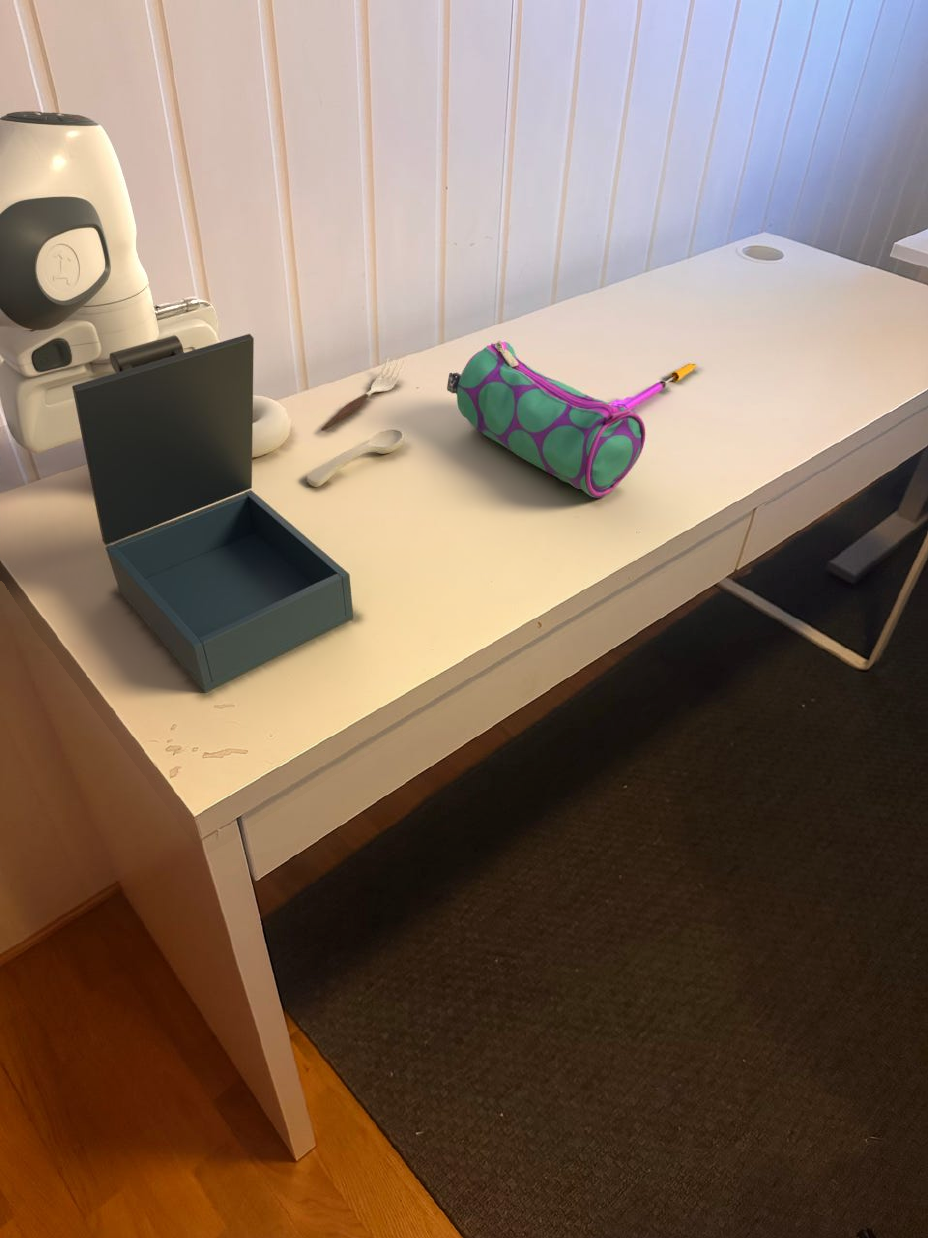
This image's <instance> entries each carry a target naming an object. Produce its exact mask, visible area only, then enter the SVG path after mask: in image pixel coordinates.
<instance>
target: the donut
mask: <svg viewBox="0 0 928 1238" xmlns="http://www.w3.org/2000/svg"><path fill="white" fill-rule="evenodd" d="M291 428H292V420H291V417H290V415H289V413H288V411H287V409H286V408H285V407H284V406H283V405H282V404H281V403H279V402H278V401H276V400H274V399H272V398H269V397H267V396H263V395H256V394H253V434H252V459H254V458H259V457H262V456H265V455H267V454H269V453H272V452H273V451H276V449H278V448H280V447H281V446H282V445H284V443H285V441H286V440H287V439H288V438H289V436H290V433H291Z"/></svg>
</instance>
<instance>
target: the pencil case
mask: <svg viewBox="0 0 928 1238" xmlns="http://www.w3.org/2000/svg"><path fill="white" fill-rule="evenodd" d="M446 390H447V392H449V393H450V394H455V395H456V402H457V407H458V410H459V412H460V414H461V415H462V416H463V417H464V418H465V419H466V420H467V422H468V423H470V424H471V425H472V426H473V427H474V428H475V429H476V430H478V431H479V432H481V433H482V435H484V436H486V437H488V438H489V439H490V440H492V441H494V442H496V443H497V444H500V445H501V446H503V447H504V448H506V449H507V450H508V451H510V452H512V453H514V454H515V455H516V456H518V457H519V458H521V459H522V460H524V461H526V462H528V463H530V464H531V465H533V466H535V467H536V468H539V469H540V470H541V471H543V472H546V473H547V474H549V475H552V476H553V477H555V478H558V480H560V481H561V482H564V483H567V484H569V485H571V486H572V487H574V488H575V489H577V490H581V491H583V492H584V493H585V494H586V495H588V496H590V497H591V498H594V499H595V498H597V499H599V498H604V497H607V496H608V495H609V494H611V493H612V492H613V491H614V490H615V489H616V488H617V486H619V484H620V483H621V482H622V481H623V479H625V477H627V475H628V474H629V473H630V471H631V470H632V469H633V467H634V466H635V465H636V463H637V462H638V460H639V458H640V456H641V455H642V452H643V449H644V447H645V442H646V426H645V423H644V421H643V419H642V418H641V417H640V416H639V414H637V413H636V412H635V411H633V410H628V409H625V408H622V407H618V406H613V405H610V403H608V402H607V401H605V400H602V399H598V398H595V397H592V396H590V395H587V394H585V393H583V392H581V391H579V390H578V389H576V388H574V387H572V386H570V385H568V384H566V383H563V382H561V381H559V380H556V379H553V378H551V377H548V376H546V375H544V374H543V373H541V372H539V371H537V370H534V369H533V368H532V367H530V366H528V365H527V364H526V363H524V362H523V361H521V360H520V359H519V357H518V356H517V354H516V352H515V349H514V348H513V346H512V345H511V344H510V343H509V342H507V341H501V340H498V341H496V342H495V343H493V342H492V343H490V344H489V345H487V346H485V347H484V348H482V349H481V350H479V351H477V352H476V353H475V354H473V355H472V356H471V357H470V358H469V360H468V361H467V363H466V364H465V366H464V368H463V370H462V372H461V374H460V373H459V372H449V374H448V379H447V383H446Z"/></svg>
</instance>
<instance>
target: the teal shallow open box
mask: <svg viewBox="0 0 928 1238" xmlns="http://www.w3.org/2000/svg"><path fill="white" fill-rule="evenodd" d="M105 551H106V553H107V557H108V560H109V563H110V567H111V569H112V572H113V576H114V580H115V582H116V585H117V589H118V591H119V593H120V594H121V595H122V596H123V598H124V599H125V600H126V601H127V602H128V604H129V605H130V606H131V608H133V609H134V611H135V612H136V613H137V614H138V615H139V616H140V618H141V619H142V620H143V621H144V622H145V624H147V626H148V627H149V628H150V629H151V631H152V632H153V633H154V634H155V636H157V638H158V639H159V640H160V642H162V643H163V645H164V646H165V647H166V648H167V649H168V651H169V652H170V653H171V654H172V655H173V656H174V658H175V659H176V660H177V662H178V663H180V665H182V668H183V669H185V671H186V672H187V673H188V675H190V677H191V678H192V679H193V680H194V681H195V682H196V684H197V685H198V686H199V687H200V689H201V690H202V691H203V692H204V693H208V692H210V691H212V690H214V689H217V688H218V687H221V686H222V685H224V684H226V683H228V682H230V681H232V680H234V679H236V678H238V677H240V676H243V675H244V674H246V673H248V672H250V671H251V670H254V669H256V668H258V667H260V666H262V665H264V664H266V663H268V662H270V661H273V660H274V659H277V658H279V657H280V656H282V655H284V654H286V653H288V652H290V651H292V650H294V649H296V648H298V647H300V646H302V645H304V644H306V643H308V642H310V641H312V640H314V639H316V638H319V637H320V636H322V635H324V634H326V633H328V632H329V631H331V630H333V629H335V628H338V627H339V626H342V625H344V624H346V623H348V622H350V621H352V620H353V619H354V609H353V607H354V606H353V597H352V586H351V575H350V573H349V571H346V570H345V569H344V568H343V567H342V566H341V565H340V564H338V563H337V562H336V561H335V560H334V559H333V558H331V556H329V555H328V554H327V553H325V552H324V551H323V550H322V549H321V548H320V547H319V546H317V545H316V544H315V543H314V542H313V541H311V539H309V538H308V537H307V536H306V535H304V534H303V533H302V532H301V531H300V530H299V529H297V528H296V527H295V526H294V525H293V524H292V523H291V522H289V521H288V520H287V519H286V518H285V517H284V516H283V515H281V514H280V513H278V511H277V510H275V509H274V508H273V507H272V506H271V505H270V504H269V503H267V502H266V500H264V499H262V498H261V497H260V496H259V495H258V494H256V493H255V492H254V491H253V490H252V489H249V490H246V491H243V492H241V493H239V494H236V495H234V496H231V497H228V498H226V499H223V500H221V501H218V502H216V503H213V504H211V505H208V506H205V507H203V508H200V509H198V510H195V511H193V512H190V513H188V514H185V515H182V516H180V517H177V518H175V519H172V520H170V521H167V522H165V523H162V524H159V525H157V526H154V527H152V528H149V529H147V530H144V531H142V532H139V533H136V534H134V535H131V536H129V537H126V538H124V539H121V540H119V541H116V542H114V543H111V544H108V545H106V546H105Z"/></svg>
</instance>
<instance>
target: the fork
mask: <svg viewBox="0 0 928 1238" xmlns="http://www.w3.org/2000/svg"><path fill="white" fill-rule="evenodd" d="M389 360H390V357H388V358H387V360H386V361H385V363H384V365H383V367H382V369H381V371H380V372H379V373H378V376H377V377H376V378H375V380H374V381H373V382H372V384H371V386H370V390H369V391H367V392H366V393H364V394H362V395H360V396H358V397H357V398H355V399H353V400H352V401H350V402H349V403H347V404H346V405H345V406H344V407H342V408H341V409H340V410H339V411H338V412H337V413H336V414H335V415H334V416H333V417H332V418H331V419H330V420H329V421H328V422H327V423H326V424H324V425H323V427H322V428H321V429H320V431H321V432H322V431H326V430H328V429H329V428H331V427H333V426H335V424H337V423H338V422H339V421H341V420H343V419H344V418H346V417H348V416H349V415H351V414H353V413H354V412H355V411H356V410H358V409H359V407H361V405H362V404H363V403H364V402H365V401H366V400H367V399H368V398H369V397H370V396H371V395H372V394H374V393H382V392H388V391H390V390H392V389H393V388H394V387H395V386H396V383H397V381H398V379H399V377H400V375H401V372H402V370H403V368H404V365H405V363H406V361H403V363H402V364H401V367H400V368H399V370H398V372H397V374H396V376H395V377H394V375H395V373H396V371H397V368H398V366H399V363H400V362H401V361H400V359H398V360H397V362H396V364H395V366H394V369H393V370H392V372H391V374H390V375H389V373H390V371H391V369H392V367H393V365H394V362H395V358H393V359H392V361H391V363H390V365H389V367H388V368H387V365H388V363H389ZM386 368H387V370H386V372H385V369H386ZM384 372H385V374H384ZM383 375H384V376H383ZM388 375H389V377H388ZM393 377H394V379H393Z"/></svg>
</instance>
